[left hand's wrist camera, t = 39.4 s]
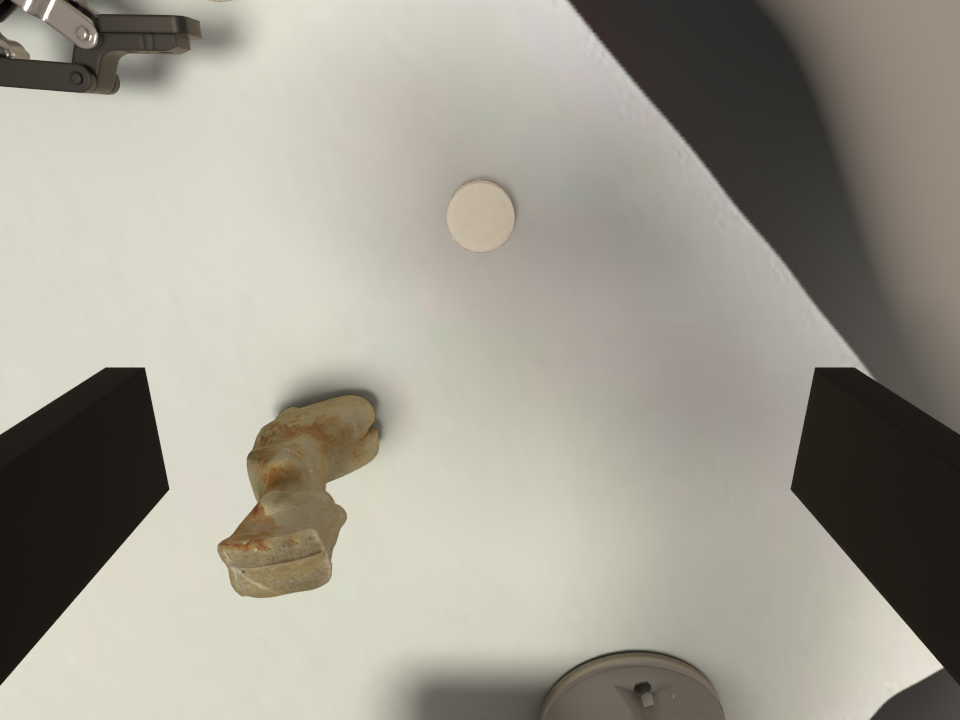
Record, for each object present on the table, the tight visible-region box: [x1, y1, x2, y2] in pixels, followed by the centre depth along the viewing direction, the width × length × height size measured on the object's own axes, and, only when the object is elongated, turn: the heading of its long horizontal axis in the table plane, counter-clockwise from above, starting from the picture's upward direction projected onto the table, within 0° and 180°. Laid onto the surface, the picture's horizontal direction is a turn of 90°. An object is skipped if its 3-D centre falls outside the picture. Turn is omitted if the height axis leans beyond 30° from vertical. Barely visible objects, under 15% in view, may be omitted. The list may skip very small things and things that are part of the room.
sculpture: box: [217, 395, 379, 598], centre depth 35 cm, size 6×7×15 cm
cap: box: [446, 180, 515, 252], centre depth 37 cm, size 4×4×2 cm
